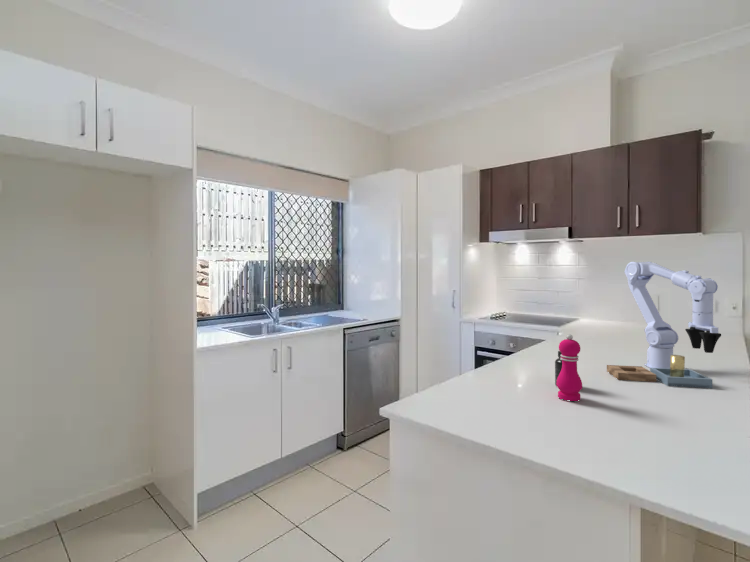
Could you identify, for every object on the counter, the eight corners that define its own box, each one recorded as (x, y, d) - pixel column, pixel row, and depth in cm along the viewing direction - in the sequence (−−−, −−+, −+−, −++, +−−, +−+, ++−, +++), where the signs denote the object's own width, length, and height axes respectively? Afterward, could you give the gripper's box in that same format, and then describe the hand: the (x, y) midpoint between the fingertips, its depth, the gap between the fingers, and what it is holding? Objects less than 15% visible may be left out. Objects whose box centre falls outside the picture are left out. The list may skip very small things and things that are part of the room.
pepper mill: (585, 403, 118) (586, 336, 117) (559, 401, 119) (559, 336, 119) (578, 395, 125) (578, 332, 124) (553, 394, 126) (554, 332, 126)
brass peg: (667, 376, 141) (668, 354, 141) (681, 377, 140) (682, 355, 140) (672, 379, 138) (673, 357, 137) (686, 380, 136) (686, 357, 136)
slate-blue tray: (650, 375, 147) (650, 367, 146) (690, 377, 144) (690, 369, 143) (667, 385, 134) (667, 377, 134) (712, 388, 131) (712, 379, 131)
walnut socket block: (606, 371, 153) (606, 364, 153) (641, 372, 150) (641, 366, 150) (618, 379, 141) (618, 373, 141) (656, 381, 139) (656, 374, 139)
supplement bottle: (572, 383, 137) (572, 349, 137) (580, 389, 131) (580, 353, 130) (551, 383, 138) (552, 349, 138) (559, 389, 131) (559, 353, 131)
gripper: (679, 310, 149) (678, 346, 149) (701, 314, 134) (701, 354, 135) (700, 310, 147) (700, 346, 147) (725, 314, 133) (725, 354, 133)
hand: (702, 350), depth 141 cm, fingers open, 7 cm apart
